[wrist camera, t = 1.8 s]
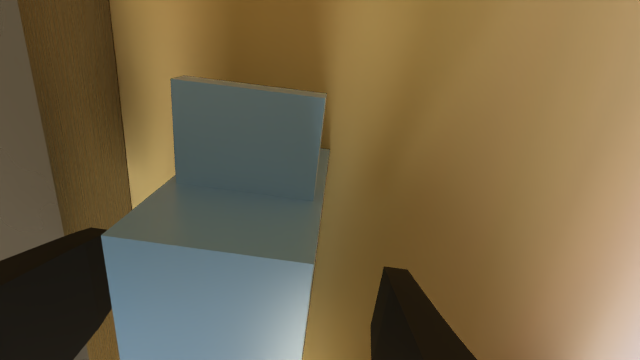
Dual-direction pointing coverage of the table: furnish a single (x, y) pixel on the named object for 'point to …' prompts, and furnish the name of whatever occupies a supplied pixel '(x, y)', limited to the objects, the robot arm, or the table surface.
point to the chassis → (60, 131)
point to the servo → (224, 229)
